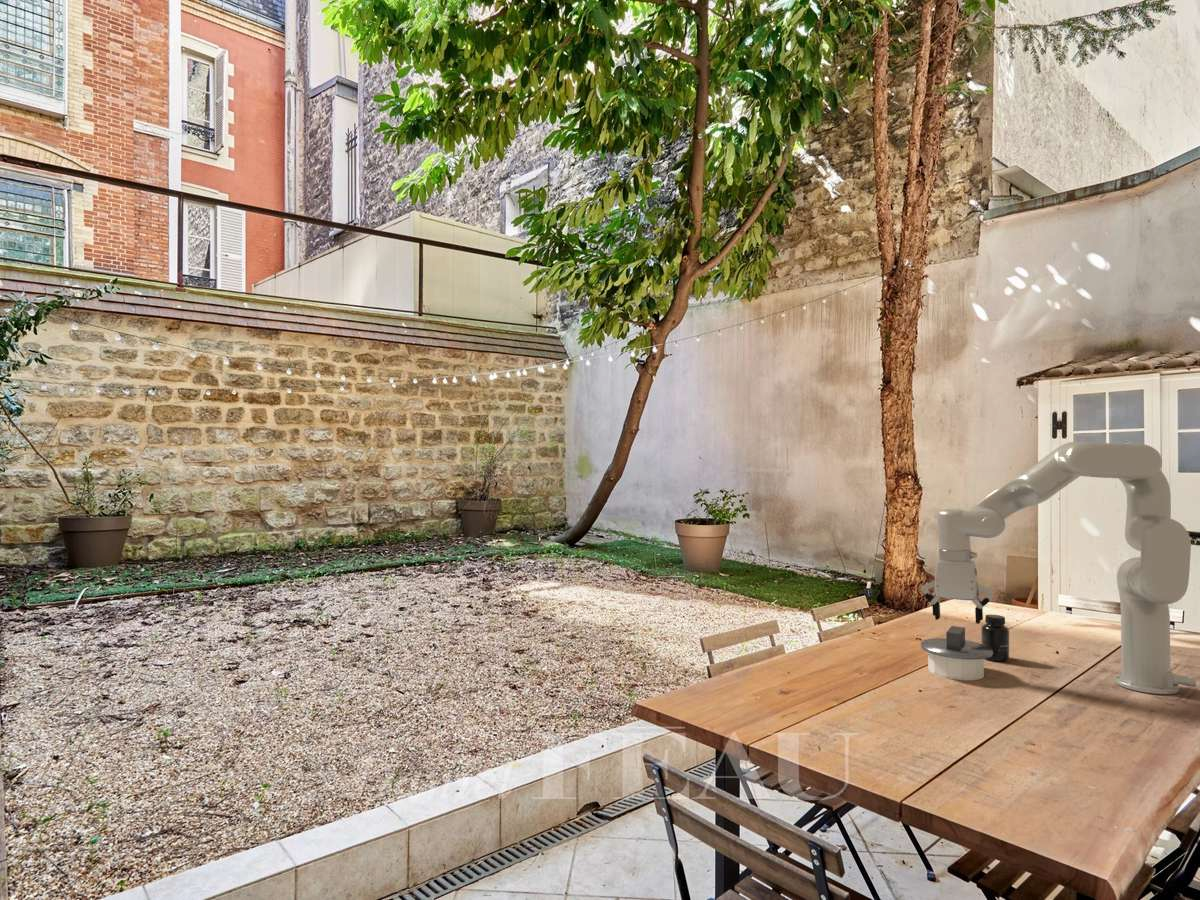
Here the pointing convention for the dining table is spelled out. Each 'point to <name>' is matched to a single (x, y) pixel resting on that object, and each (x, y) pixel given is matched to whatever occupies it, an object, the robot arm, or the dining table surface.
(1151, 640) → the robot arm
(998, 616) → the supplement bottle
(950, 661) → the bowl
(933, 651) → the lid
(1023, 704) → the dining table surface
